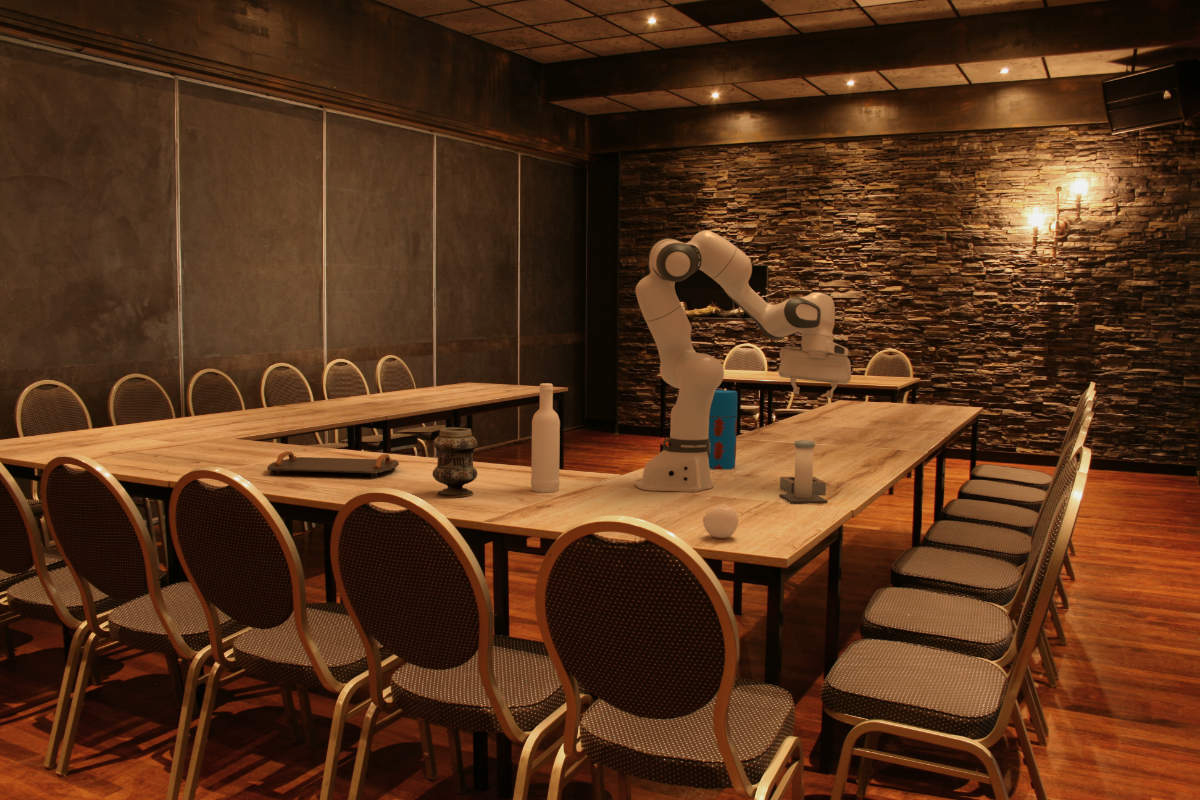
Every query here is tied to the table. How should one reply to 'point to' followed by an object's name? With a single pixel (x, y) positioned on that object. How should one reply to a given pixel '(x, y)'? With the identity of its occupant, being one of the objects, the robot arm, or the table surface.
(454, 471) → the apothecary jar
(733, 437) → the red-spotted teal box
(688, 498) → the table surface
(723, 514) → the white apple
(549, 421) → the bottle
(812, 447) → the cylinder
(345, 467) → the serving board
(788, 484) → the collar
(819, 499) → the mat
